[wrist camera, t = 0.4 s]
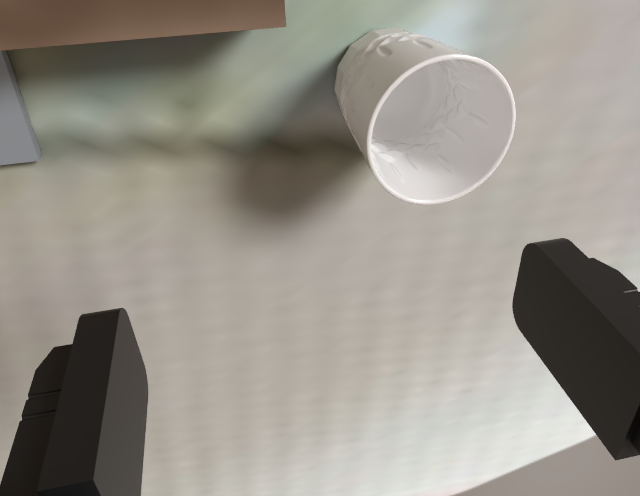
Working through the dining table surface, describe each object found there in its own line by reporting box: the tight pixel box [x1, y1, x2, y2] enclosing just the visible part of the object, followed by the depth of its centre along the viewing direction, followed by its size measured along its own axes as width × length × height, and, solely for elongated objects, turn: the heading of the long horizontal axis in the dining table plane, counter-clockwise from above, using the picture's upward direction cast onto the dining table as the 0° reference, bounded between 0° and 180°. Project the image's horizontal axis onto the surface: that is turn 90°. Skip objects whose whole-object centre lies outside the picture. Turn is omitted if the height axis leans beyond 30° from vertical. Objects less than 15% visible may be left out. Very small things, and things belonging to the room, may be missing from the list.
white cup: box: [334, 27, 516, 205], centre depth 32 cm, size 8×8×10 cm
